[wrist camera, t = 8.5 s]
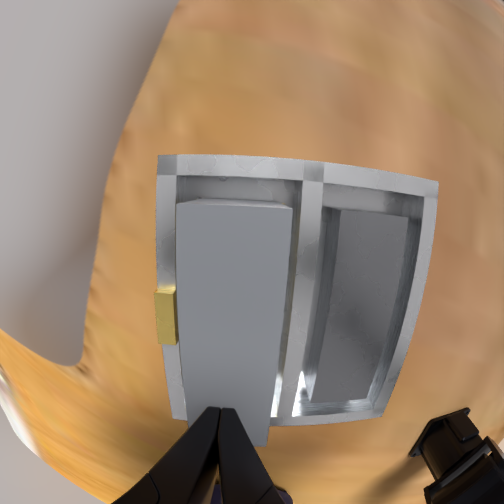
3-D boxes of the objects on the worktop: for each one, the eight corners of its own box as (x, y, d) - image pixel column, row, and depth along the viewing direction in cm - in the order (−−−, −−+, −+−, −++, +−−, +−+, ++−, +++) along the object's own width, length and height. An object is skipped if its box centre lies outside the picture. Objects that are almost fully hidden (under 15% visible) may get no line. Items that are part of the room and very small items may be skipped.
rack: (369, 393, 19) (384, 421, 16) (180, 393, 19) (171, 424, 16) (413, 181, 16) (444, 181, 12) (173, 160, 15) (154, 153, 12)
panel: (262, 381, 18) (266, 446, 12) (204, 377, 18) (190, 441, 12) (276, 201, 15) (292, 208, 9) (204, 197, 15) (176, 203, 9)
